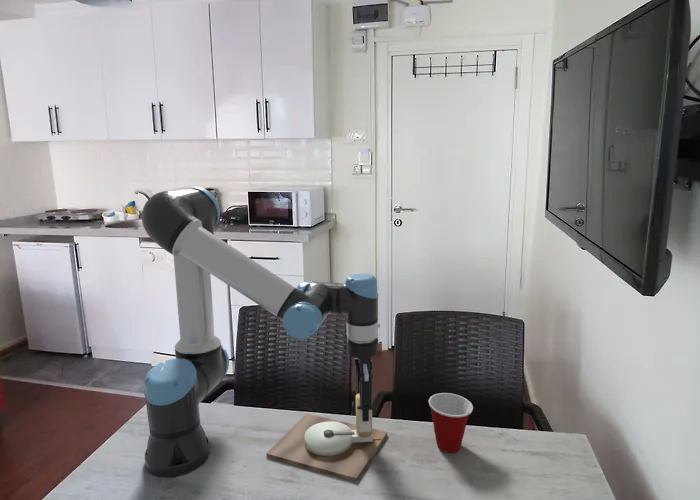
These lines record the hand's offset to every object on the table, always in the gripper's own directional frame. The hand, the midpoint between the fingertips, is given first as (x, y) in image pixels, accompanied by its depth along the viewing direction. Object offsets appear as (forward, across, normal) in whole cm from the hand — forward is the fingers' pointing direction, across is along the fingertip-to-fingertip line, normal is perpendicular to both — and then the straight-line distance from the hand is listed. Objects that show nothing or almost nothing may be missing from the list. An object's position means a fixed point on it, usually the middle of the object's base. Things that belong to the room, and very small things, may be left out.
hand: (363, 425), depth 127 cm
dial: (+4, 0, +6) cm, 8 cm away
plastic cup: (+5, -4, -21) cm, 22 cm away
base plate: (+5, +1, +9) cm, 10 cm away
